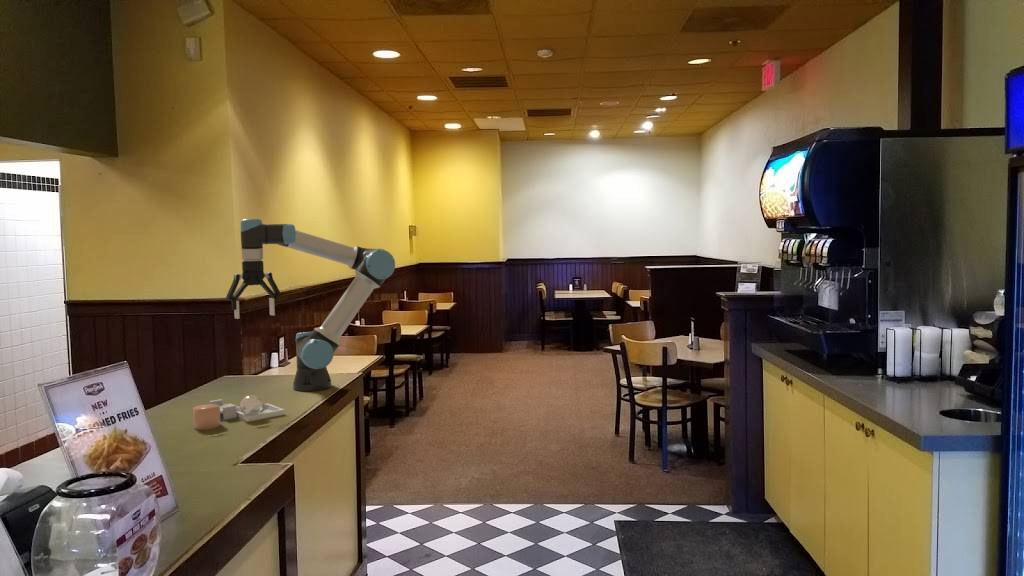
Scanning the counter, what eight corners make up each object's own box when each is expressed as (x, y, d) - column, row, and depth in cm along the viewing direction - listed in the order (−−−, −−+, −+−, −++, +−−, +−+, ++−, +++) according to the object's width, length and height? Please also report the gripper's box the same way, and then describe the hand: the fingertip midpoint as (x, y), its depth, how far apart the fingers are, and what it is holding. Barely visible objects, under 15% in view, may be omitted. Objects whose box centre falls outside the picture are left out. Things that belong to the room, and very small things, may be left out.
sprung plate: (230, 406, 249) (230, 403, 249) (241, 410, 243) (241, 407, 242) (204, 410, 243) (204, 407, 243) (214, 415, 236) (214, 412, 236)
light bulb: (273, 415, 245) (257, 412, 233) (254, 420, 245) (237, 417, 234) (271, 396, 247) (254, 391, 235) (252, 400, 247) (235, 396, 235)
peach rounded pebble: (215, 423, 235) (214, 403, 235) (224, 428, 229) (223, 407, 229) (190, 428, 230) (189, 407, 229) (199, 433, 224) (198, 411, 223)
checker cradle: (229, 411, 251) (228, 397, 251) (245, 418, 241) (245, 404, 241) (200, 416, 245) (199, 402, 244) (216, 424, 234) (215, 409, 234)
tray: (268, 410, 252) (268, 403, 252) (285, 416, 243) (284, 409, 243) (232, 417, 244) (231, 409, 243) (248, 424, 234) (247, 416, 234)
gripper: (279, 259, 276) (281, 313, 278) (215, 261, 259) (217, 319, 261) (288, 259, 271) (290, 314, 272) (223, 261, 254) (225, 320, 255)
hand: (255, 316), depth 267 cm, fingers open, 13 cm apart
